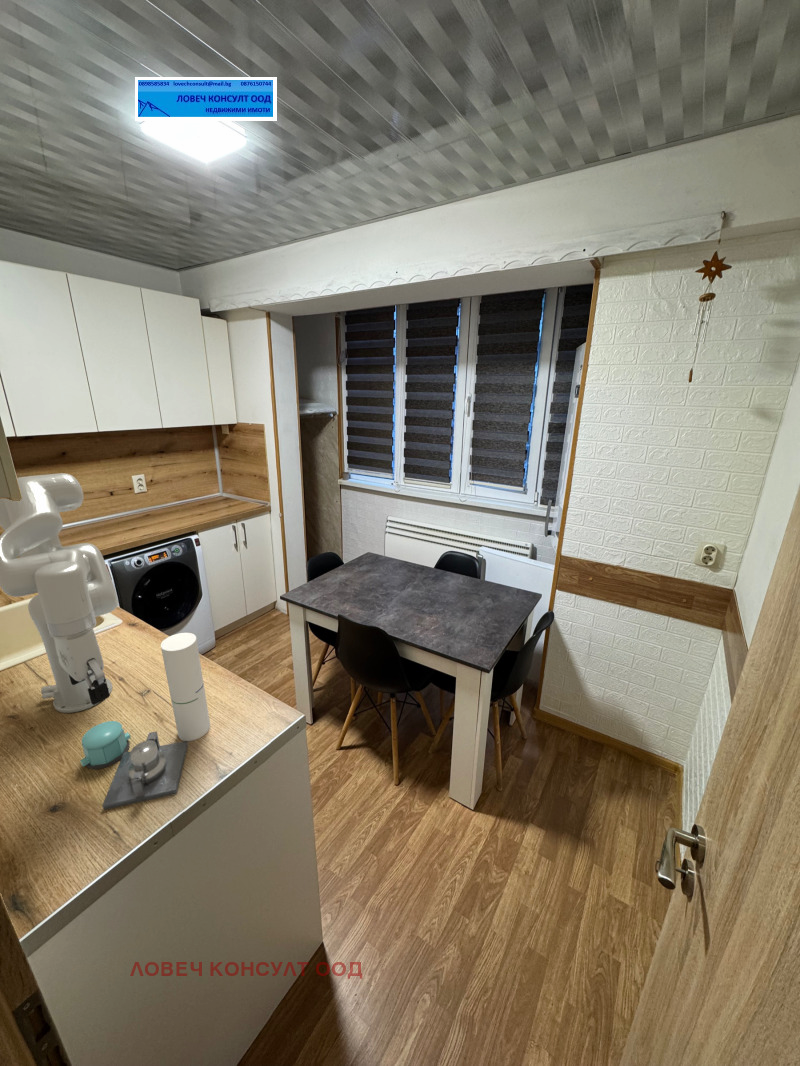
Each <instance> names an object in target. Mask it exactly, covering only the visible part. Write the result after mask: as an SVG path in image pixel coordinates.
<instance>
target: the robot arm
mask: <svg viewBox="0 0 800 1066" xmlns="http://www.w3.org/2000/svg"><path fill="white" fill-rule="evenodd" d="M16 478H17V480H18V484H19V488H20V491H21V496H22V499H21V500H20V501H12V500H9V499H0V527H1V529H3V532H2V533H1V535H0V588H1V590H2V591H3V592H4V594H6V595H7V596H10V597H16V598H17V597H18V598H19V597H25V596H29V595H35V594H36V595H35V596H33V597H32V598H31V599H30V600H29V603H28V607H27V609H28V614H29V615H30V618H31V620H32V621H33V624H34V625H35V627H36V629H37V631H38V633H39V636H40V638H41V641H42V644H43V647H44V650H45V653H46V655H47V659H48V662H49V665H50V669H51V673H52V676H53V679H54V681H55V684H54V685H47V686H46V685H45V686H41V689H40V693H41V695H42V696H41V698H42V699H43V700H44V699H50V698H53V699H54V700H53V707H54V709H55V710H56V711H58V712H60V713H63V714H64V713H66V714H68V713H69V714H71V713H77V712H82V711H84V710H87V709H90V708H92V707H94V706H96V705H98V704H99V703H101V702H102V701H105V700H107V699H108V698H109V697H110V694H111V693H112V691H113V690H112V689H113V684H112V681H111V680H110V679H109V678H107V677H106V674H105V672H104V669H105V666H104V661H103V656H102V653H101V648H100V644H99V641H98V639H97V636H96V634H95V631H94V628H95V627H96V625H97V620H96V618H97V617H100V616H104V615H107V614H109V613H111V612H113V611H115V610H116V609H117V607H118V605H119V599H118V598H119V597H118V594H117V590H116V588H115V585H114V582H113V580H112V577H111V575H110V571H109V569H108V567H107V564H106V561H105V559H104V556H103V554H102V552H101V550H100V549H99V548H98V547H97V546H96V545H95V544H93V543H88V542H87V543H86V542H85V543H82V542H81V543H77V544H72V545H66V546H63V545H62V543H61V541H60V537H59V534H60V533H61V531H62V529H63V525H64V522H63V518H62V516H61V514H60V513H63V512H64V513H65V512H69V511H75V510H77V509H78V508H80V507H81V506H82V504H83V502H84V491H83V487H82V485H81V484H80V482H79V480H78V479H77V478H75V476H73V474H69V473H63V472H61V473H51V474H39V475H29V476H21V477H16Z"/></svg>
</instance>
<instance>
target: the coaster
mask: <svg viewBox="0 0 800 1066" xmlns="http://www.w3.org/2000/svg"><path fill="white" fill-rule="evenodd" d="M129 750H130V742H129V739H128V740H127V745H126V747H125V749H124V751H123V753H122V754H121V755H120V756H118V757H117V758H115V759H113V760H112V761H110V762H109V763H107V764H100V765H91V764H90V763H89V764H87V765H86V766H85V767H87V768H88V769H90V770H102V769H105V768H108V767H111V766H113V765H114V764H116V763H118V762H120V761H121V758H122V756H123V754H124V753H125V752H129Z"/></svg>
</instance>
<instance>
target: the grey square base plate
mask: <svg viewBox="0 0 800 1066" xmlns="http://www.w3.org/2000/svg"><path fill="white" fill-rule="evenodd" d="M188 742H189V741H184V740H182V741H179V742H174V743H169V744H163V745H160V740H159V735H158V731H151V732H148V734H147V737H146V739H145V740H144V741H141V742H139V743H138V744H136V745H135V746H133V748H132V749H131V750H130V751H128V752H125V753H124V754H123V756H122V758H121V760H119V764H118V766H117V768H116V771H115V774H114V777H113V779H112V781H111V783H110V784H109V785H110V786H109V788H108V791H107V793H106V795H105V798H104V801H103V802H102V809H103V810H104V811H105V810H110V809H114V808H118V807H124V806H129V805H132V804H137V803H141V802H146V801H151V800H156V799H160V798H165V797H168V796H174V795H177V794H178V789H179V784H180V781H181V780H180V779H181V776H182V774H183V773H182V772H183V769H184V765H185V759H186V755H187V752H188V747H189V743H188Z"/></svg>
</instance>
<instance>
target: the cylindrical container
mask: <svg viewBox="0 0 800 1066" xmlns="http://www.w3.org/2000/svg"><path fill="white" fill-rule="evenodd" d="M197 639H198V638H197V636H196V634H194V633H191V632H181V633H175V634H173V635H170V636H168V637H166V638H164V639H163V640H162V642H161V643H160V648H161V653H162V654H161V655H162V660H163V665H164V670H165V675H166V679H167V685H168V690H169V694H170V696H169V697H170V700H171V705H172V706H171V707H172V711H173V712H172V713H173V715H174V721H175V727H176V733H177V736H178V738H179V739H180V740H181V741H188V742H192V741H195V740H198V739H200V738H202V737H203V736H205V735H206V734H207V733H208V732H209V730H210V729H211V721H210V716H209V715H210V714H209V708H208V703H207V696H206V689H205V685H204V684H205V683H204V677H203V671H202V665H201V659H200V652H199V647H198V640H197Z"/></svg>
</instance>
